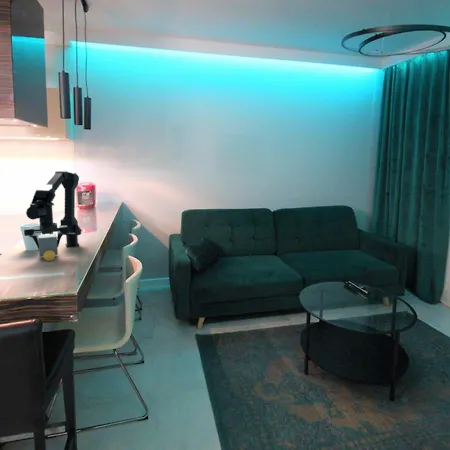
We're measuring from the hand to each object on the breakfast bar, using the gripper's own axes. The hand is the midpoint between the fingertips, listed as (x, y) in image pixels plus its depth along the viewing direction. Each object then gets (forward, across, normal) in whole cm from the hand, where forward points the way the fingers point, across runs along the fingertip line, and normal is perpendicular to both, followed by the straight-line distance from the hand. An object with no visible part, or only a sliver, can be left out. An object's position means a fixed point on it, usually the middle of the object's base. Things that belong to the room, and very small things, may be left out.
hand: (48, 247), depth 164 cm
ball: (+2, 0, -6) cm, 7 cm away
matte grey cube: (+3, 0, 0) cm, 3 cm away
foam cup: (+5, -7, +19) cm, 21 cm away
